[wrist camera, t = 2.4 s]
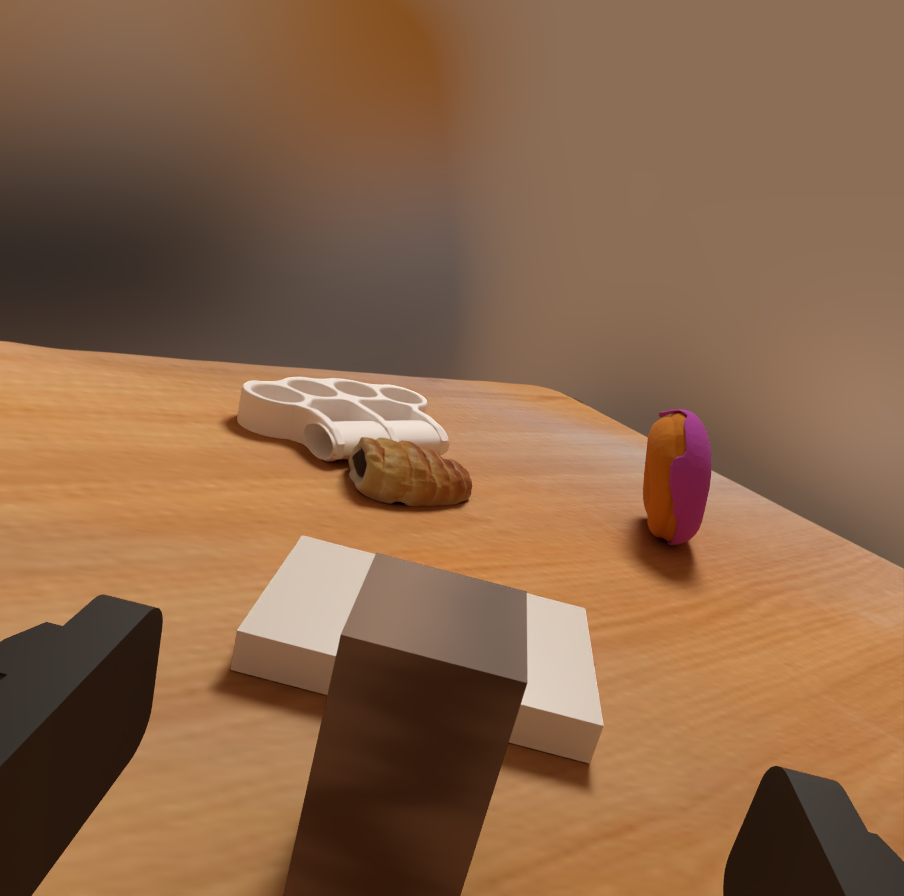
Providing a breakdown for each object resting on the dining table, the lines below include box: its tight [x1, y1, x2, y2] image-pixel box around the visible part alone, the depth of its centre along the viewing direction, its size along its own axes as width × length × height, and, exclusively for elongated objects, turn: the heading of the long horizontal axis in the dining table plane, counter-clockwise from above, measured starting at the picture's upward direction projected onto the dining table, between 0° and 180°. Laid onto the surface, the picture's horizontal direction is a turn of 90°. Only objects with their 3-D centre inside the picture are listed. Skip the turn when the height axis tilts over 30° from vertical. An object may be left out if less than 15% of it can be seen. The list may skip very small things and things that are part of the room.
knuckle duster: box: [237, 377, 449, 461], centre depth 66 cm, size 3×18×15 cm
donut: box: [643, 409, 711, 545], centre depth 60 cm, size 8×9×10 cm
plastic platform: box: [230, 535, 603, 764], centre depth 37 cm, size 16×10×2 cm, turn 85°
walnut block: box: [283, 553, 528, 896], centre depth 24 cm, size 5×5×10 cm
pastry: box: [348, 437, 472, 506], centre depth 57 cm, size 9×7×4 cm
